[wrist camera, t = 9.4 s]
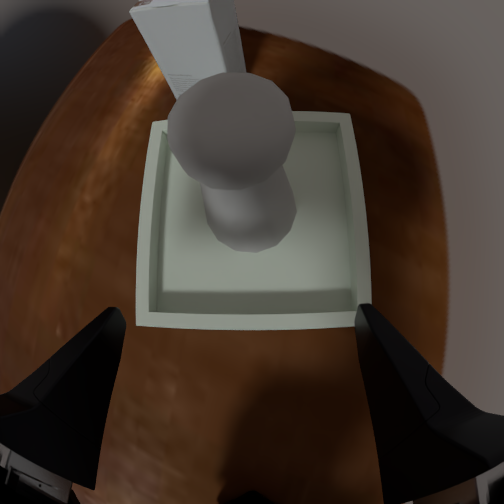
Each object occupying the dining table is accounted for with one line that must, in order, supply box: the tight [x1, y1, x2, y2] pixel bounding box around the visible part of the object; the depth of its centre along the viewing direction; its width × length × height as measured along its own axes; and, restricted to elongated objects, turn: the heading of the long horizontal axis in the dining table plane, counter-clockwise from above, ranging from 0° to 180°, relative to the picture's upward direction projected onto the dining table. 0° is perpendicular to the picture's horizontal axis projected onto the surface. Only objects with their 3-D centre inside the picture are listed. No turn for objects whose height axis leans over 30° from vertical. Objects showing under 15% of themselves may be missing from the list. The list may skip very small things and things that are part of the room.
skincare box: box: [130, 0, 246, 99], centre depth 18 cm, size 6×4×12 cm
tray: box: [136, 111, 372, 330], centre depth 20 cm, size 16×16×2 cm
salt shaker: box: [167, 72, 297, 253], centre depth 14 cm, size 6×6×13 cm
